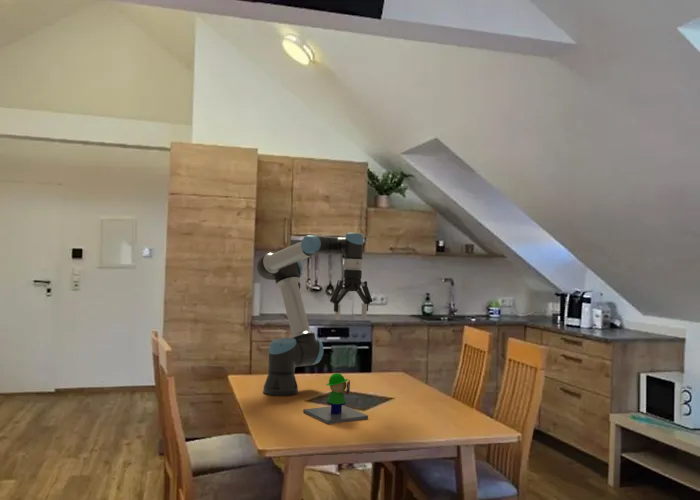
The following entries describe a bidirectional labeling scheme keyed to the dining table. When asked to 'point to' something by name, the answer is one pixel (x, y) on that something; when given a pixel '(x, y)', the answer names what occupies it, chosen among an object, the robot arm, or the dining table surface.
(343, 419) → the plate
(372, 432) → the dining table surface
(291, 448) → the dining table surface
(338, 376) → the toy
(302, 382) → the dining table surface
